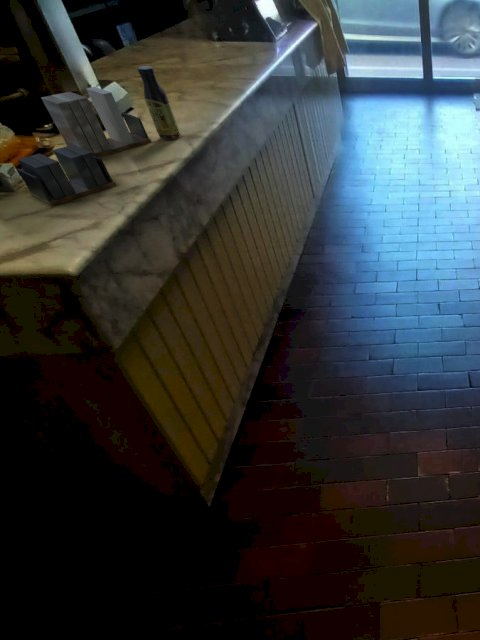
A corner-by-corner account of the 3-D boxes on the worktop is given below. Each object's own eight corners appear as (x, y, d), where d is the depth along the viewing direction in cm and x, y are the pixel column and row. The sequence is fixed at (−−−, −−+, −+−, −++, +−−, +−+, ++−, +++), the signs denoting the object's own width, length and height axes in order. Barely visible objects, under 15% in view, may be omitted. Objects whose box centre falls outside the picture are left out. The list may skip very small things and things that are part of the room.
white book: (126, 144, 156) (103, 94, 147) (109, 138, 160) (85, 88, 150) (134, 142, 158) (111, 92, 148) (117, 136, 161) (94, 86, 151)
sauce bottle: (155, 139, 163) (125, 68, 149) (170, 133, 168) (142, 63, 154) (172, 142, 162) (143, 70, 148) (187, 136, 166) (160, 66, 153)
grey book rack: (52, 206, 128) (30, 170, 122) (31, 196, 132) (9, 160, 126) (116, 185, 138) (99, 151, 132) (95, 176, 142) (78, 142, 136)
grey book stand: (85, 161, 149) (55, 104, 138) (67, 153, 152) (36, 97, 142) (151, 142, 161) (128, 89, 151) (133, 135, 165) (109, 83, 155)
